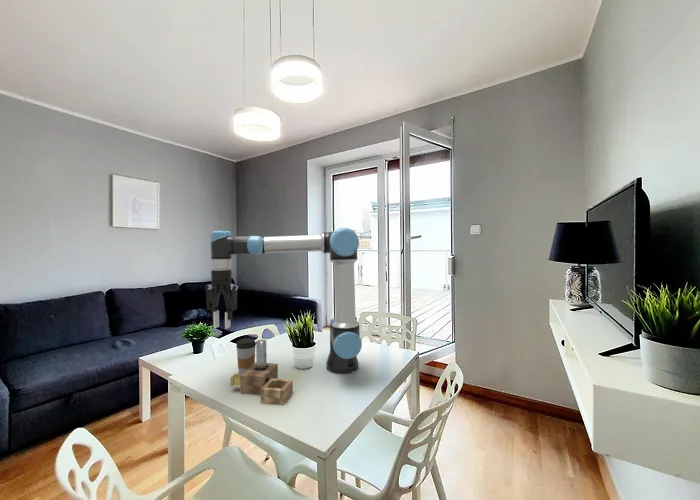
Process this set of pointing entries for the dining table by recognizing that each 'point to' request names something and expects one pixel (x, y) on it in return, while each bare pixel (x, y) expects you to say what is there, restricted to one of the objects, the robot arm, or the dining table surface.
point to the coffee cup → (245, 354)
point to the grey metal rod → (261, 355)
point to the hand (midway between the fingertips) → (222, 327)
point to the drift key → (236, 380)
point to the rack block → (276, 391)
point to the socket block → (257, 378)
